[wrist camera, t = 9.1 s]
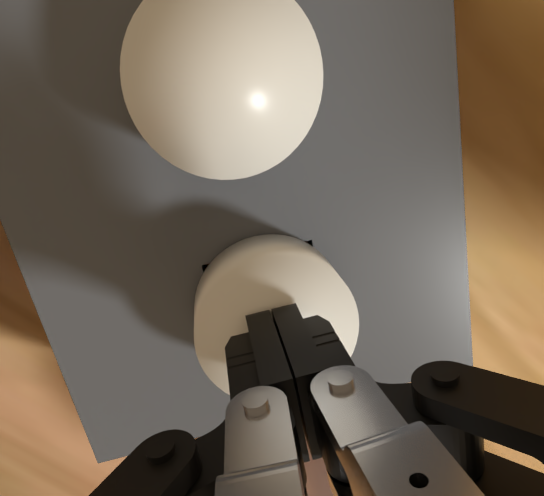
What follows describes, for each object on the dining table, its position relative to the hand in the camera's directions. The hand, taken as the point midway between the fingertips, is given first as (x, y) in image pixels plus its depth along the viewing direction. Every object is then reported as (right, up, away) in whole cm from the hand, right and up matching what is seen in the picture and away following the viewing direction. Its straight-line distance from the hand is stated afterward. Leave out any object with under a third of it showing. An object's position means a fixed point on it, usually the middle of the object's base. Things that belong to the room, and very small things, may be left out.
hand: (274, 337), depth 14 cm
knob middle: (-2, +9, +5) cm, 10 cm away
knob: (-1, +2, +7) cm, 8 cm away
